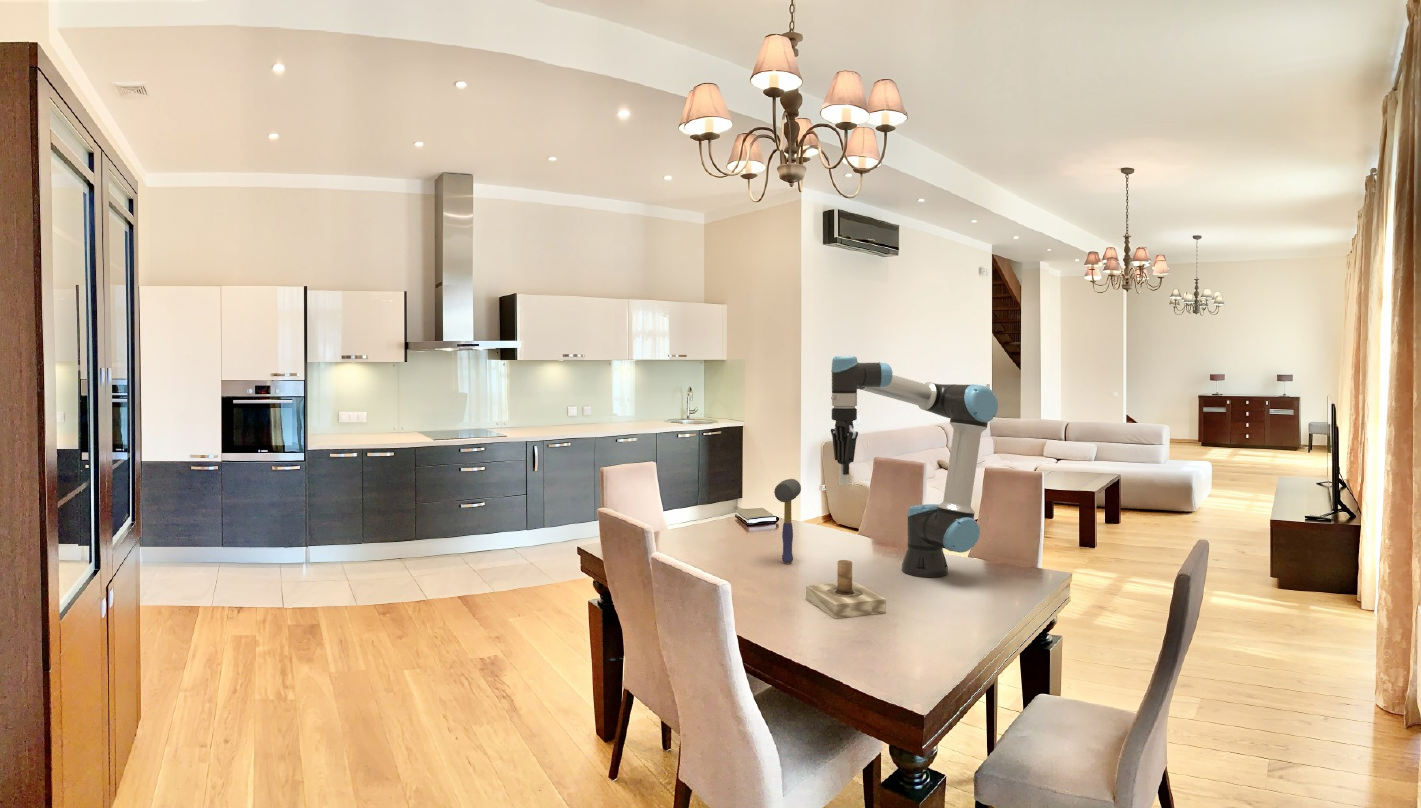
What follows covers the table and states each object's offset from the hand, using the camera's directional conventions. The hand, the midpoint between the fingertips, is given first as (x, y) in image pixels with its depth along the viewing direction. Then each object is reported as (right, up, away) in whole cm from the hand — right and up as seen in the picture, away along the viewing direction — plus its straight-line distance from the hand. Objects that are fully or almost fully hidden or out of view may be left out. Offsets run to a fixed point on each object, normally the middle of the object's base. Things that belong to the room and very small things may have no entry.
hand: (843, 484), depth 231 cm
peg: (-1, -35, -8) cm, 35 cm away
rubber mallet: (-13, -33, +41) cm, 54 cm away
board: (-1, -35, -8) cm, 35 cm away
